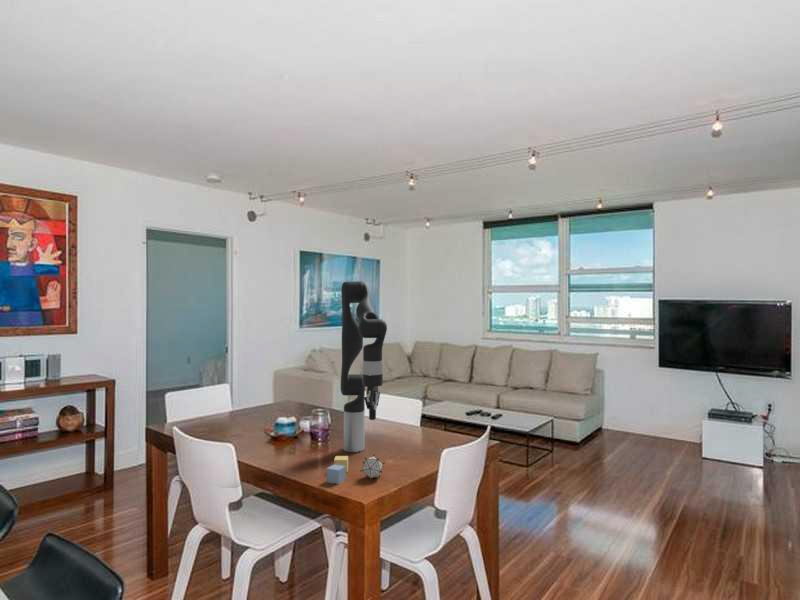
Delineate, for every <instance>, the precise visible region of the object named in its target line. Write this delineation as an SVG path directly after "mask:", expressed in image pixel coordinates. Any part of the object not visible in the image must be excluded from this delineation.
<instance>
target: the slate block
mask: <svg viewBox="0 0 800 600" xmlns="http://www.w3.org/2000/svg"><path fill="white" fill-rule="evenodd" d="M346 475H347V473H346V466H341V465H334V464H332V465H331V466H328V467H327V468H326V483H330V484H335V483H336V484H335V485H340V484H341V483H343V482H345V481H346V480H347V479H346V477H347V476H346ZM345 479H346V480H345ZM342 481H343V482H342ZM339 483H340V484H339Z"/></svg>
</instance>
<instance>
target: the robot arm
mask: <svg viewBox="0 0 800 600" xmlns="http://www.w3.org/2000/svg"><path fill="white" fill-rule="evenodd" d="M340 292H341V293H340V294H341V297H340V298H341V314H342V317H341V319H342V324H341V371H340V372H341V374H340V392H341V395H343V396H356V398H355V399H352V400H351V401H349V402H346V403H345V404H344V405H343V451H345V452H346V453H347V452H348V453H359V451H360V452H363V451H364V450H365V437H366V436H365V432H366V431H365V430H366V429H365V426H366V423H365V420H366V418H365V417H366V416H365V413H366V412H365V407H366V409H367V410H368V419H369V420H370V421H374V420H375V421H376V419H377V408H378V406H379V400H380V396H381V391H380V390H379V387H382V385H383V384H384V383H383V382H384V380H383V379H384V378H383V377H384V376H383V375H384V373H383V372H384V367H383V346H384V342H385V338H386V335H387V331H388V330H387V329H388V325H387V323H386V320H384V319H382V318H378V316H377V313H376V311H375V309H374V308H373V303H372V300H371V296H370V291H369V287H368V285H367V284H366V282H365V281H359V280H357V281H356V280H355V281H354V280H353V281H344V282H342V285H341V291H340ZM351 304H357V307H356V310H355V312H356V313H355V314H356V316H357V319H358V321H357V320H356V318H355V316H354V314H353V312H352V309H351ZM364 339H375V340H374V342H373V343H368V344H365V345H364ZM362 349H363V351H362ZM361 351H362V356H363V358H362V373H358V374H357V373H356V374H353V373H352V374H349V372H350V369H351V367H352V365H353V364H354V362H355V360H356V359H357V357H358V356H359V354H360V352H361ZM366 387H367V388H366Z"/></svg>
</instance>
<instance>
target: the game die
mask: <svg viewBox="0 0 800 600" xmlns="http://www.w3.org/2000/svg"><path fill="white" fill-rule="evenodd" d="M375 454H376V453H375ZM375 454H373V456H371V457H368V458H367V457H364V460H365V461H363V462H362V464H363V465H362V469H360V470H359V472H363V473H364V474H365V475H366V477H369V478H370V481H372V479H373V478H376V477H379V478H380V477H381V475H380V474H381V473H383V471H382V468H383V465H385V464H386V463H385V462H382V461H380V460H379V459H380V458H379V457H378V458H377V457H376V456H375Z"/></svg>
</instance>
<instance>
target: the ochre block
mask: <svg viewBox="0 0 800 600" xmlns="http://www.w3.org/2000/svg"><path fill="white" fill-rule="evenodd" d="M333 461H334V463H333V465H341V466H346V472H347V473H348V472H349V455H336V456H335V457H334V460H333Z"/></svg>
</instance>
